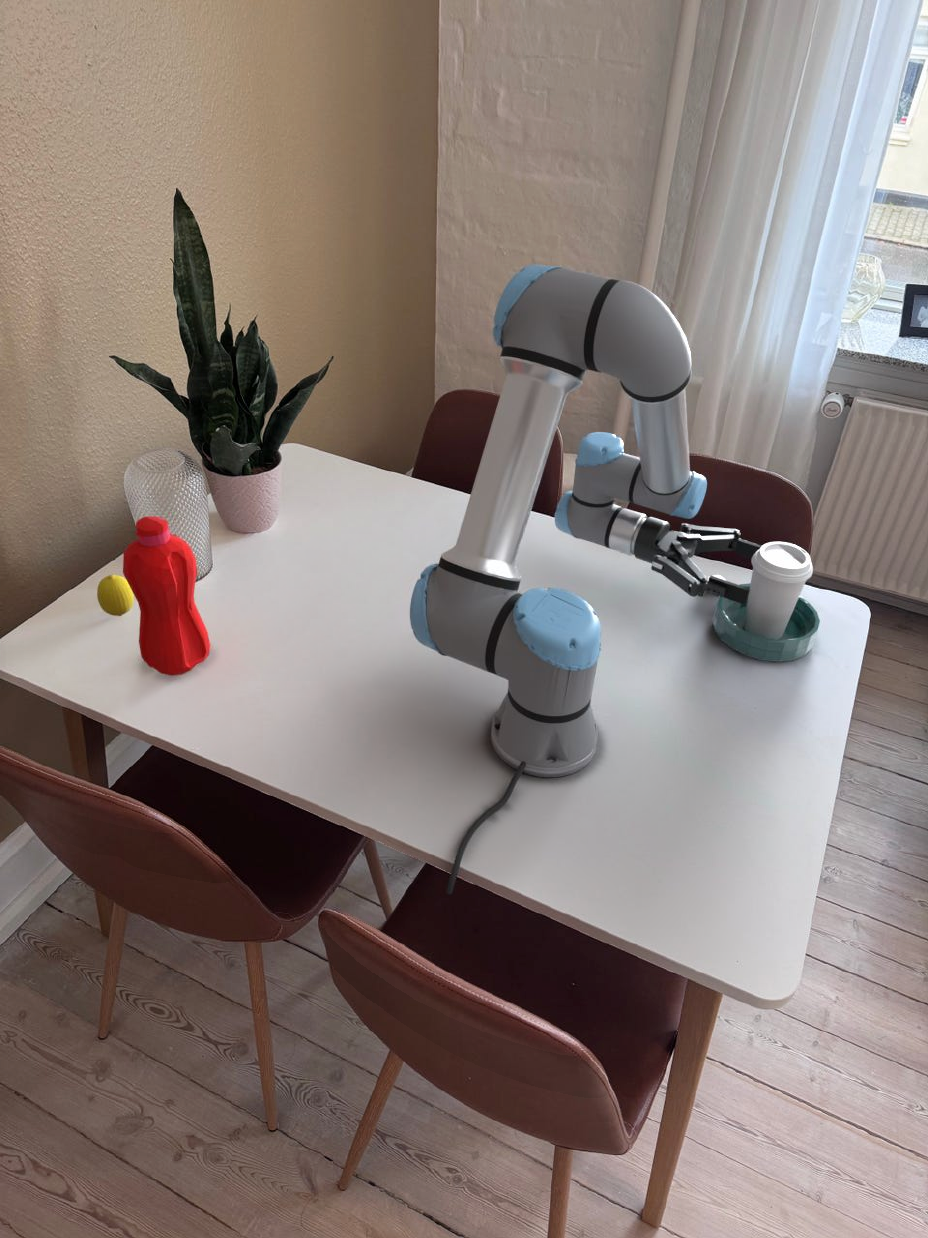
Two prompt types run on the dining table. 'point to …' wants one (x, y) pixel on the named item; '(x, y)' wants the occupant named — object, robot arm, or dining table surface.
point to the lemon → (115, 595)
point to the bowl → (786, 648)
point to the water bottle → (165, 598)
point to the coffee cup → (775, 587)
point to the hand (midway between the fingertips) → (761, 577)
